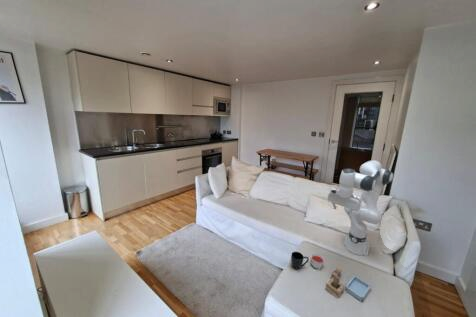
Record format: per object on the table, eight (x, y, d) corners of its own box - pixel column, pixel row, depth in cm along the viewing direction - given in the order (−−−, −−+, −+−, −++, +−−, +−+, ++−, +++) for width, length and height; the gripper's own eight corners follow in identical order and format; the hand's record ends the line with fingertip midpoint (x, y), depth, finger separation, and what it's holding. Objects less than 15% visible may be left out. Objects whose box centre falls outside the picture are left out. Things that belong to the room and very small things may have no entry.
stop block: (336, 273, 136) (337, 267, 135) (340, 276, 134) (341, 270, 133) (330, 279, 131) (331, 273, 130) (335, 282, 129) (336, 276, 128)
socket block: (331, 282, 129) (332, 277, 128) (343, 291, 123) (344, 286, 122) (325, 289, 124) (326, 283, 123) (337, 298, 118) (338, 293, 117)
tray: (353, 278, 132) (354, 275, 131) (370, 289, 125) (371, 285, 124) (344, 290, 124) (345, 286, 123) (361, 302, 116) (362, 298, 115)
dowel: (333, 287, 126) (335, 274, 123) (337, 290, 123) (340, 277, 121) (331, 289, 124) (333, 276, 121) (335, 293, 122) (338, 280, 119)
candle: (320, 272, 137) (321, 264, 136) (308, 265, 143) (309, 258, 141) (325, 265, 144) (326, 257, 142) (313, 258, 149) (313, 251, 148)
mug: (308, 272, 136) (310, 261, 134) (290, 270, 138) (292, 258, 136) (306, 263, 144) (307, 253, 142) (289, 261, 146) (291, 250, 144)
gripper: (364, 197, 124) (360, 216, 127) (332, 187, 139) (329, 204, 142) (360, 199, 120) (356, 219, 123) (327, 189, 135) (325, 207, 139)
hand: (341, 211), depth 133 cm, fingers open, 8 cm apart
